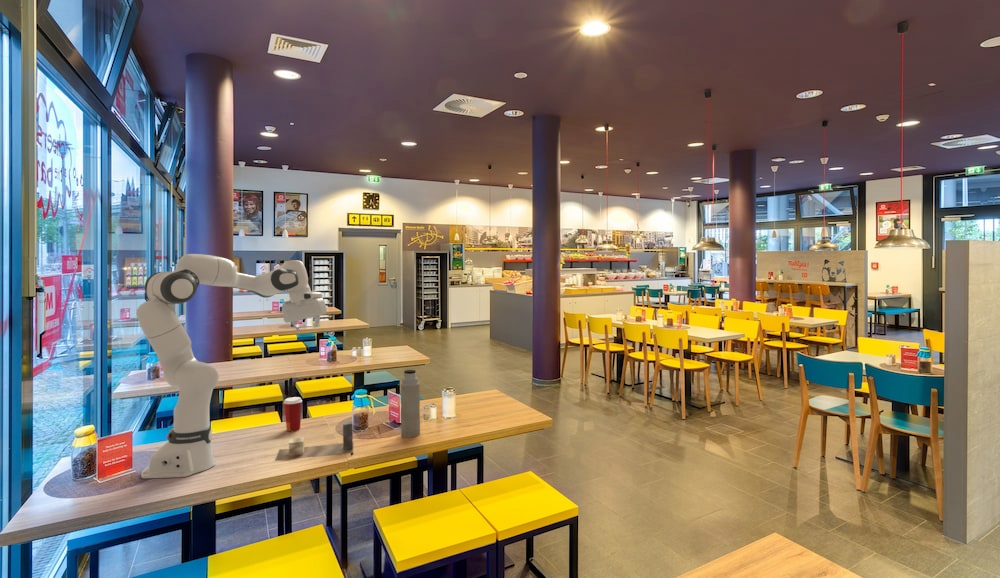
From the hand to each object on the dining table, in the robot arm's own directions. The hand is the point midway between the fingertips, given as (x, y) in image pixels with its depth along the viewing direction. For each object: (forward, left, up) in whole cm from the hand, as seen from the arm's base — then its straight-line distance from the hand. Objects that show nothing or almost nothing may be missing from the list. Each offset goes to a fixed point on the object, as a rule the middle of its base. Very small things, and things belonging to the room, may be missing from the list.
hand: (308, 329), depth 213 cm
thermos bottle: (+42, -9, -47) cm, 63 cm away
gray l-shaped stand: (+4, -21, -47) cm, 51 cm away
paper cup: (-8, +13, -47) cm, 49 cm away
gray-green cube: (-3, -21, -46) cm, 50 cm away
